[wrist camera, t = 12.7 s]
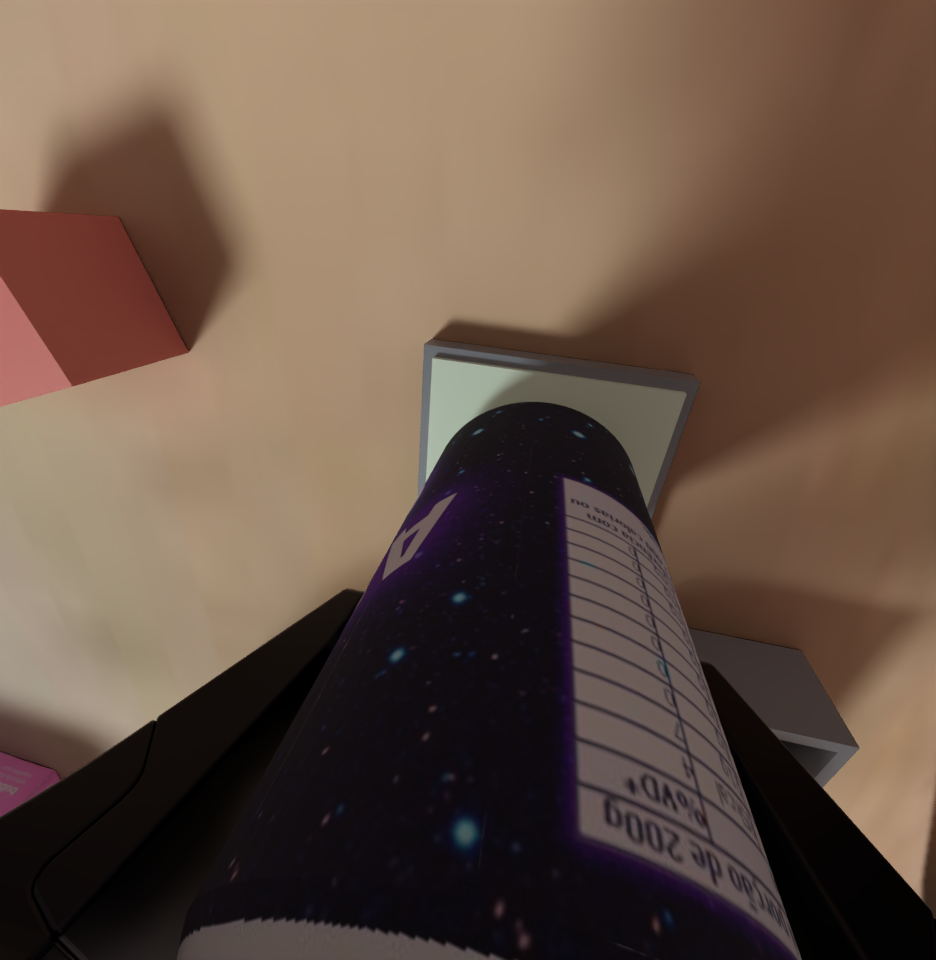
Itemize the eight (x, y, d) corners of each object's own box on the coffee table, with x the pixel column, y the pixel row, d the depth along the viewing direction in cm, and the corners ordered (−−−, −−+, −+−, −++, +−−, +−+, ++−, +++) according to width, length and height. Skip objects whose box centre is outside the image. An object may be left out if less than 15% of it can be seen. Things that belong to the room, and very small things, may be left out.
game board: (411, 741, 23) (405, 760, 22) (431, 338, 13) (422, 345, 12) (552, 776, 22) (551, 797, 21) (692, 374, 12) (703, 384, 11)
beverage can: (472, 361, 12) (-142, 1202, 1) (669, 432, 12) (1523, 1842, 1) (422, 522, 15) (94, 1197, 4) (581, 580, 15) (642, 1409, 4)
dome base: (582, 717, 20) (586, 803, 16) (620, 614, 16) (634, 698, 13) (732, 750, 19) (765, 848, 16) (801, 650, 16) (859, 748, 13)
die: (101, 376, 16) (-44, 419, 12) (26, 255, 14) (-172, 259, 10) (188, 352, 14) (58, 390, 11) (118, 216, 13) (-66, 205, 9)
